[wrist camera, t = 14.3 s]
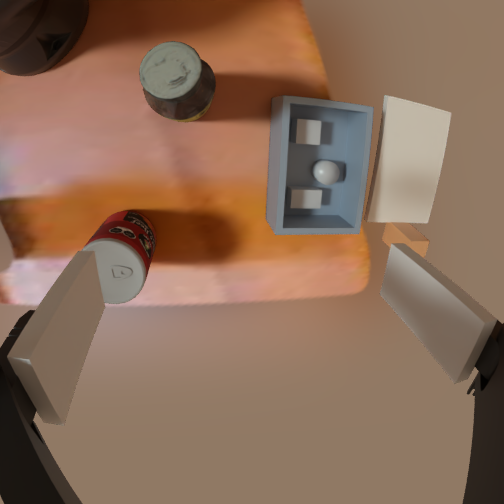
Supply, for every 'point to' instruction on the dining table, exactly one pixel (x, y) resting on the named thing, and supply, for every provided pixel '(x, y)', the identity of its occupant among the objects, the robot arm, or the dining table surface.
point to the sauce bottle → (177, 82)
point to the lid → (407, 169)
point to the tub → (317, 165)
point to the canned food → (123, 255)
